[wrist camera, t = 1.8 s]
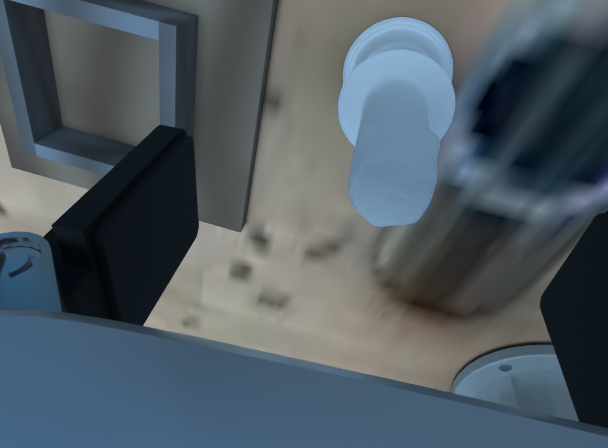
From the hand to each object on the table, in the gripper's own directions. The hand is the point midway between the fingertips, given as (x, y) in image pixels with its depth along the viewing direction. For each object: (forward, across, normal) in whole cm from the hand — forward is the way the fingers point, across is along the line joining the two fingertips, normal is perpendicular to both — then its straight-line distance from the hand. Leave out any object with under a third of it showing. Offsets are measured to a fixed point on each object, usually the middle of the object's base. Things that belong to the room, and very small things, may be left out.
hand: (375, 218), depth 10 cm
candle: (+14, -1, +1) cm, 14 cm away
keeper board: (+14, +14, +4) cm, 20 cm away
